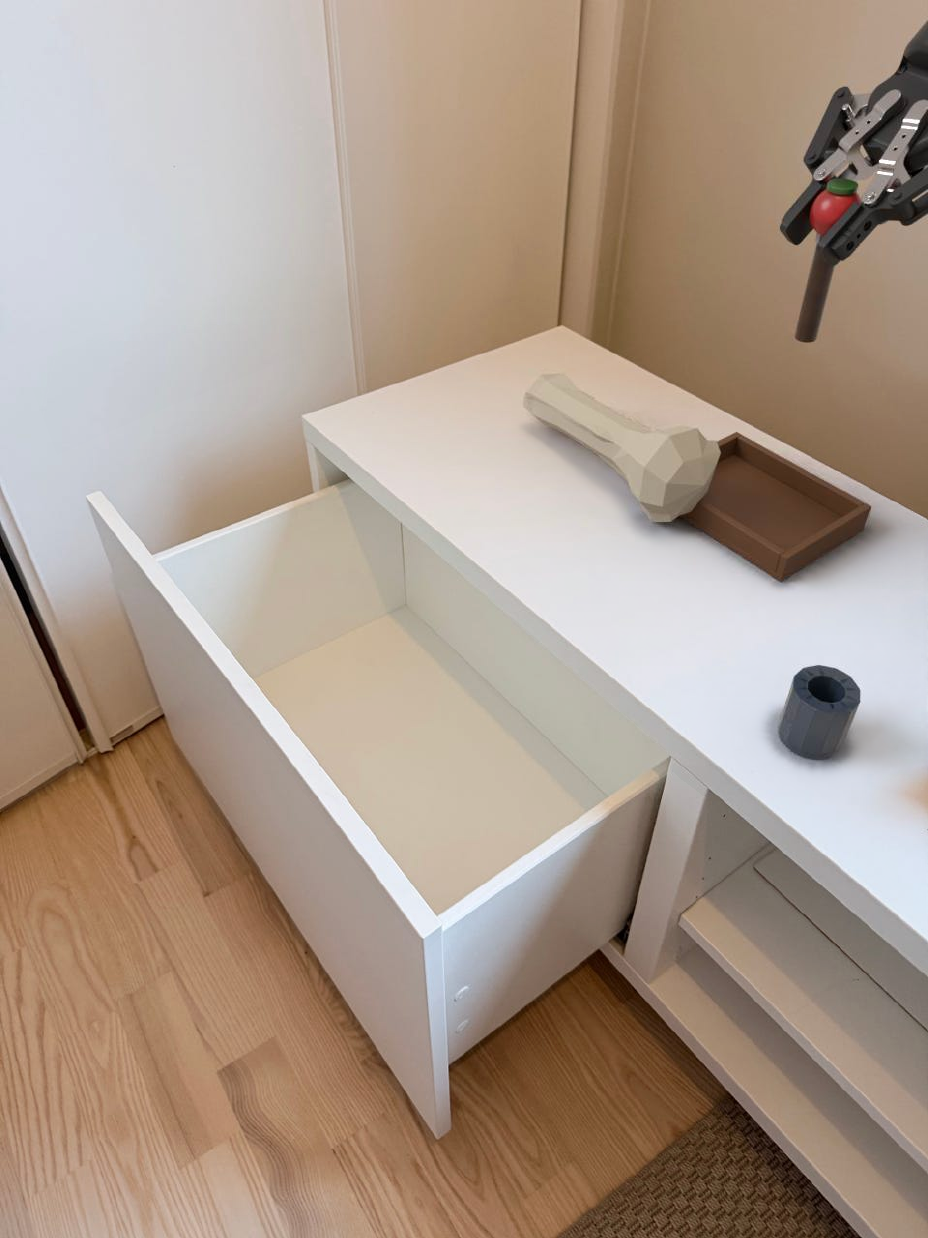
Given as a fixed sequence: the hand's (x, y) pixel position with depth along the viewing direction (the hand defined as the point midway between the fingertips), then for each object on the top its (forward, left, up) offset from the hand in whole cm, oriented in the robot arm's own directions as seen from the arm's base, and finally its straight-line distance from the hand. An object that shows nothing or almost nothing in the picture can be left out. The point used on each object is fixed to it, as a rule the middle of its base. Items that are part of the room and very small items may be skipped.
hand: (806, 246), depth 65 cm
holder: (-22, +5, -26) cm, 35 cm away
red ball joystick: (+1, -2, -7) cm, 8 cm away
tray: (+3, -3, -26) cm, 26 cm away
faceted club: (+13, +8, -26) cm, 30 cm away
